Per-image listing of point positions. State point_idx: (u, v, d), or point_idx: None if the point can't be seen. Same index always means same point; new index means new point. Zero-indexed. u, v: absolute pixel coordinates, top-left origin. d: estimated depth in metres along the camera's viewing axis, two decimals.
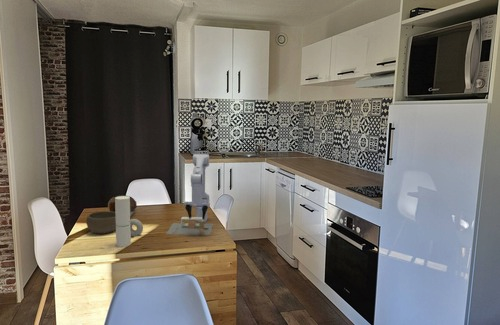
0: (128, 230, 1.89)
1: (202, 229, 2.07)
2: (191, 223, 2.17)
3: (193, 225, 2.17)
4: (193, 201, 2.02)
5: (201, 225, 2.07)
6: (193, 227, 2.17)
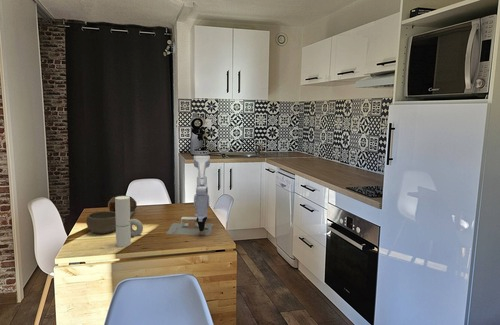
0: (128, 230, 1.89)
1: None
2: (191, 223, 2.17)
3: (193, 225, 2.17)
4: None
5: None
6: (193, 227, 2.17)
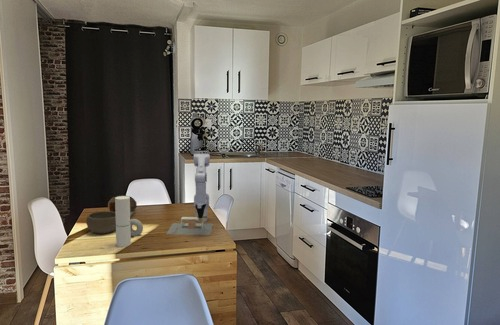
0: (128, 230, 1.89)
1: None
2: (191, 223, 2.17)
3: (193, 225, 2.17)
4: None
5: None
6: (193, 227, 2.17)
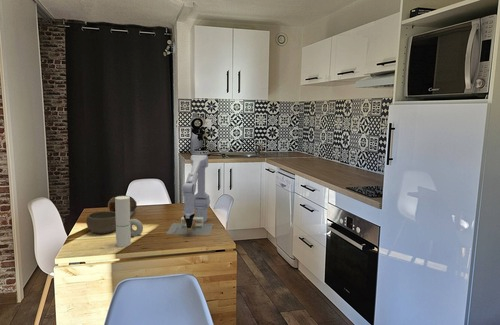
0: (128, 230, 1.89)
1: None
2: None
3: (193, 225, 2.17)
4: None
5: None
6: None
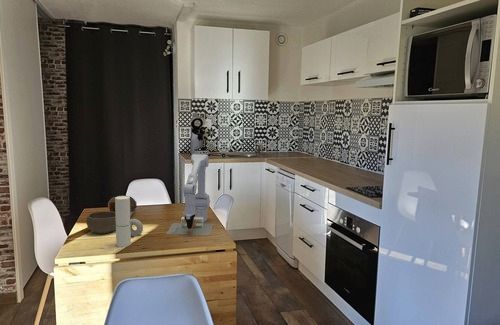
0: (128, 230, 1.89)
1: None
2: None
3: (193, 224, 2.19)
4: None
5: None
6: None
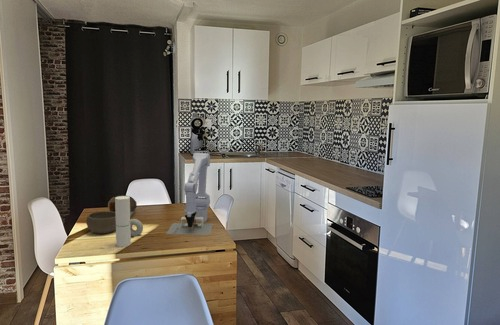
0: (128, 230, 1.89)
1: None
2: None
3: (194, 222, 2.23)
4: None
5: None
6: None
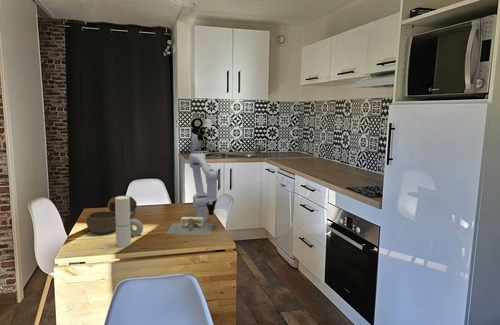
0: (128, 230, 1.89)
1: (191, 225, 2.13)
2: None
3: (194, 222, 2.23)
4: None
5: (190, 221, 2.13)
6: None
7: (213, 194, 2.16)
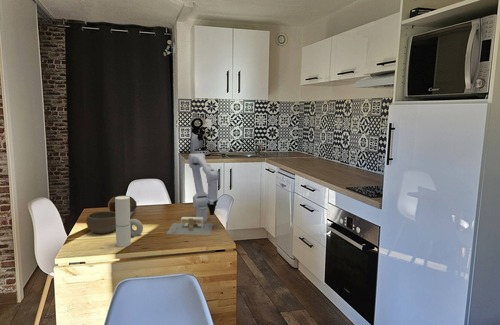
0: (128, 230, 1.89)
1: (191, 225, 2.13)
2: None
3: (194, 222, 2.23)
4: None
5: (190, 221, 2.13)
6: None
7: (214, 194, 2.16)
